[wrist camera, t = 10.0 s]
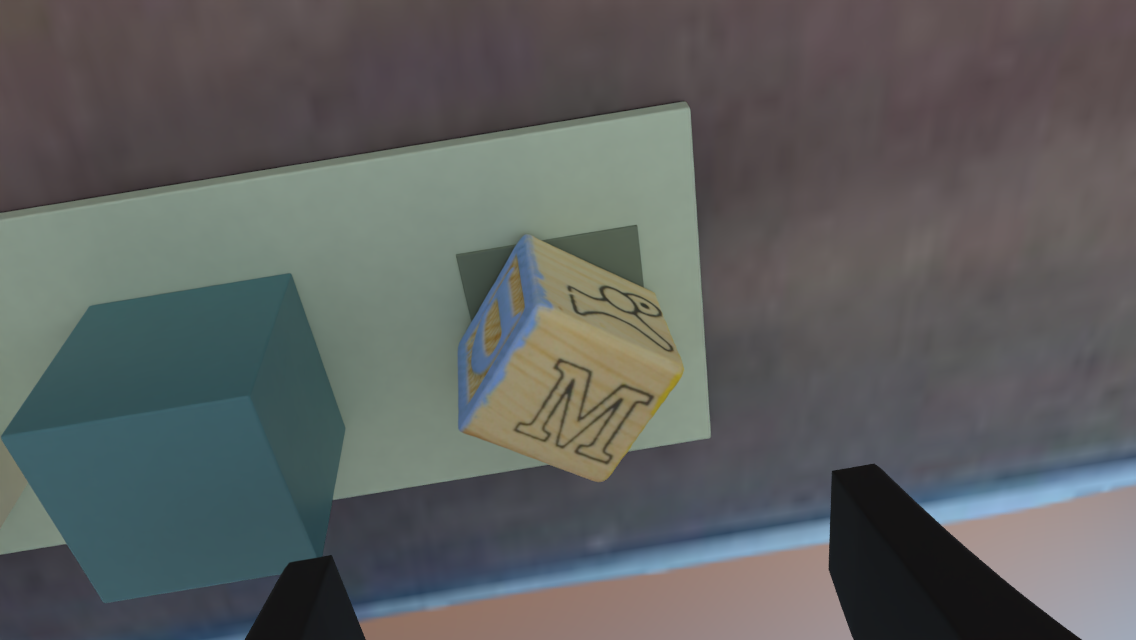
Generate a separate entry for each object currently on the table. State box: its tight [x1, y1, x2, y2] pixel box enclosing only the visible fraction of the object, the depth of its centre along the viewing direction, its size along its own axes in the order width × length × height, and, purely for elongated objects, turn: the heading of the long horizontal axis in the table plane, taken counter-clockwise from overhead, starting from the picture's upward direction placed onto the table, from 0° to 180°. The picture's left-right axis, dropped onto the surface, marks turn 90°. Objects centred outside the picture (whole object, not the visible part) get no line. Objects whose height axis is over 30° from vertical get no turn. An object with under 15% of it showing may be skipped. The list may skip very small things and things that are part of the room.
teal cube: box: [1, 273, 346, 603], centre depth 17 cm, size 4×4×4 cm
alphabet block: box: [458, 234, 684, 482], centre depth 17 cm, size 3×3×3 cm
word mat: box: [0, 102, 711, 555], centre depth 19 cm, size 20×8×1 cm, turn 98°
